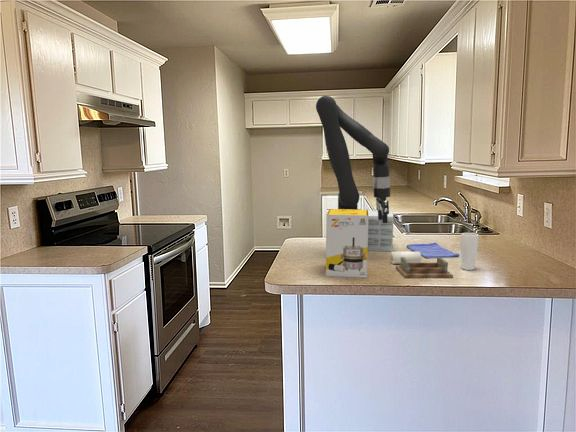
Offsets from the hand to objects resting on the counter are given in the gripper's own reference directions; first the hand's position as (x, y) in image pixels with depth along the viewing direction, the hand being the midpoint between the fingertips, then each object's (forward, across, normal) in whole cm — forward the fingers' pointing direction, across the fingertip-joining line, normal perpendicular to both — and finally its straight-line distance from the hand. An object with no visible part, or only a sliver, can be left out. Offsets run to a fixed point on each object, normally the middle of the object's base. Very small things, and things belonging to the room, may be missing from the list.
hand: (382, 221), depth 194 cm
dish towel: (+20, -10, +26) cm, 34 cm away
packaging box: (+16, +22, -21) cm, 35 cm away
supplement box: (+18, -20, +2) cm, 27 cm away
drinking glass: (+19, +20, +31) cm, 42 cm away
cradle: (+18, +26, +10) cm, 33 cm away
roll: (+18, +11, +7) cm, 22 cm away
